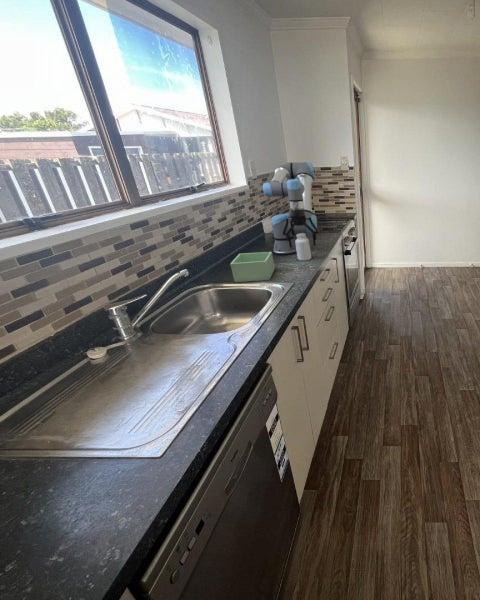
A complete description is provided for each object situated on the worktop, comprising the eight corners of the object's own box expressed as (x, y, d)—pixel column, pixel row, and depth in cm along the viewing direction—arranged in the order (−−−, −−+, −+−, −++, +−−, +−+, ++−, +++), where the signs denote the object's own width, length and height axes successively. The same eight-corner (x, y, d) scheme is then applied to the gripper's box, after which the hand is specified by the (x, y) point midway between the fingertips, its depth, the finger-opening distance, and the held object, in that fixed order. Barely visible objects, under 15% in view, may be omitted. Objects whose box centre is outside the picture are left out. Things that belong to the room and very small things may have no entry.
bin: (243, 271, 178) (239, 253, 174) (274, 268, 181) (271, 251, 177) (234, 282, 164) (230, 263, 159) (269, 279, 166) (265, 261, 162)
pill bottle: (295, 260, 194) (291, 235, 188) (303, 256, 201) (299, 232, 194) (306, 261, 191) (302, 236, 185) (314, 257, 198) (311, 233, 192)
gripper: (273, 210, 178) (279, 248, 187) (319, 208, 182) (324, 246, 191) (275, 208, 185) (281, 245, 194) (320, 206, 189) (324, 242, 197)
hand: (302, 245), depth 192 cm, fingers open, 13 cm apart
